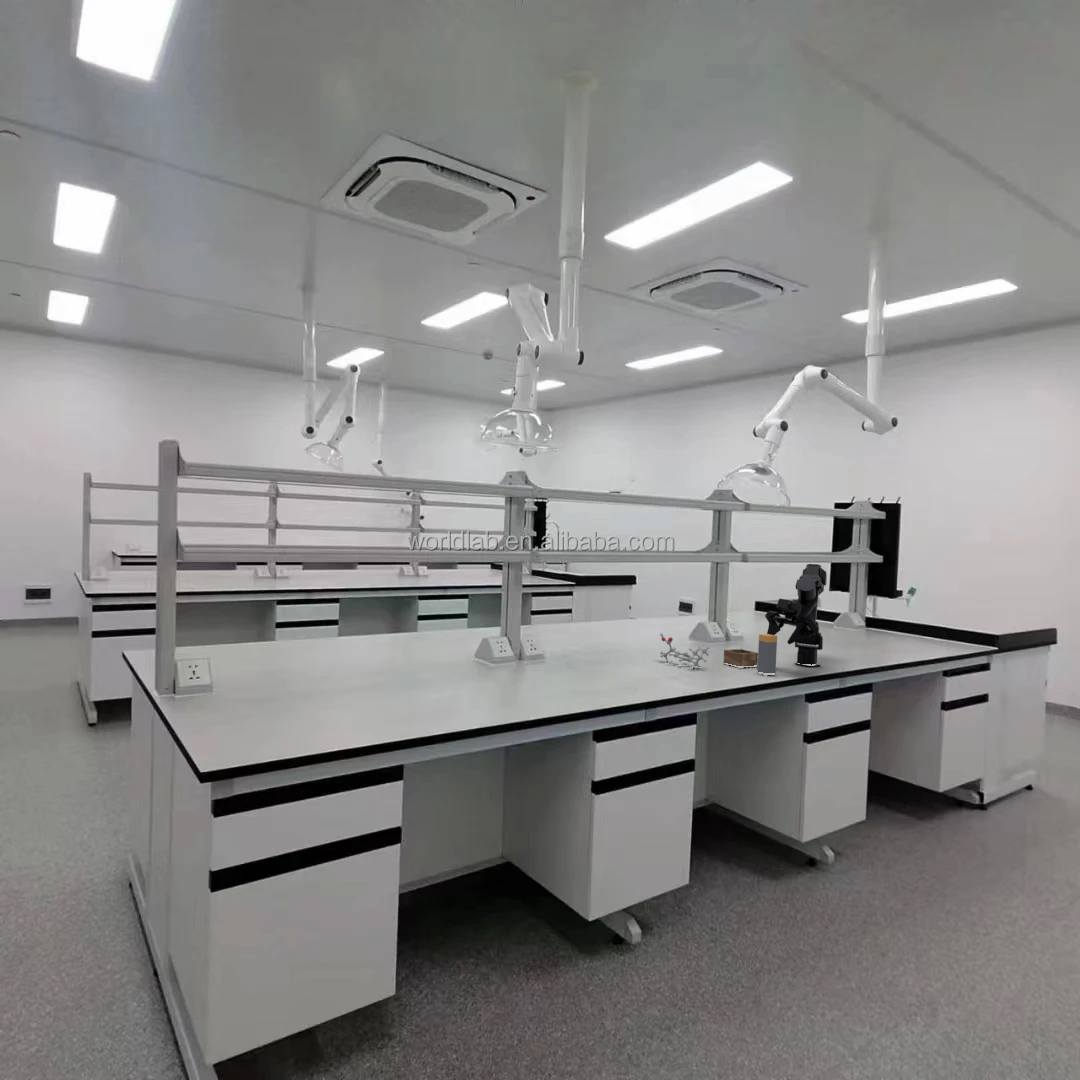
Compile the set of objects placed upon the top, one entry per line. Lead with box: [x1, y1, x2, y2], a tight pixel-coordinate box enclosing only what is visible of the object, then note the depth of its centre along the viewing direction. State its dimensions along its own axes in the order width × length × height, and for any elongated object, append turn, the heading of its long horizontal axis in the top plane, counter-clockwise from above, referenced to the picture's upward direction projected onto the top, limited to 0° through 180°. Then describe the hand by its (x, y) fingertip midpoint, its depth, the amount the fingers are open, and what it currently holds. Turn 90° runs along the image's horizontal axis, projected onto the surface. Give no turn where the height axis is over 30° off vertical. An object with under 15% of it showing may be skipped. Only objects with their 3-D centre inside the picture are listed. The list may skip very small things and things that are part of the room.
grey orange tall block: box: [756, 633, 778, 674], centre depth 225 cm, size 4×4×13 cm
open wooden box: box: [723, 648, 758, 666], centre depth 238 cm, size 8×8×5 cm
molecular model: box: [659, 632, 710, 668], centre depth 234 cm, size 19×10×10 cm, turn 31°
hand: (777, 641), depth 227 cm, fingers open, 9 cm apart
